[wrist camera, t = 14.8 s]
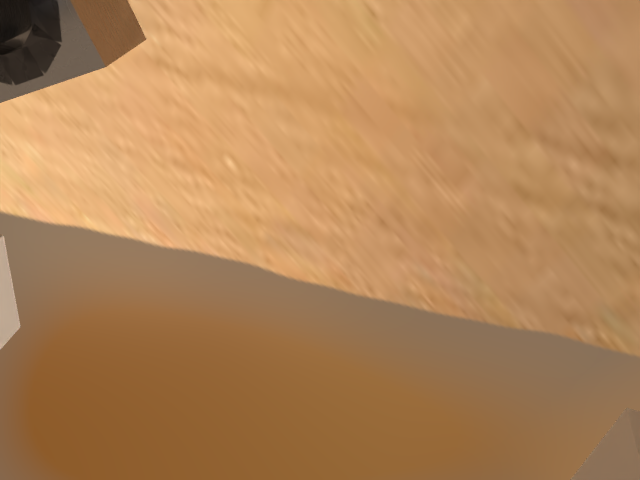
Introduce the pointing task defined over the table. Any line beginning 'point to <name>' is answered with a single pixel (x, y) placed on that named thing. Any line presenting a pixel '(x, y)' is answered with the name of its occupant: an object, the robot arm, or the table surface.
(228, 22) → the table surface
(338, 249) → the table surface
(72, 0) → the grey block with hole
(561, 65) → the table surface
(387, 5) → the table surface
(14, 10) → the lens
